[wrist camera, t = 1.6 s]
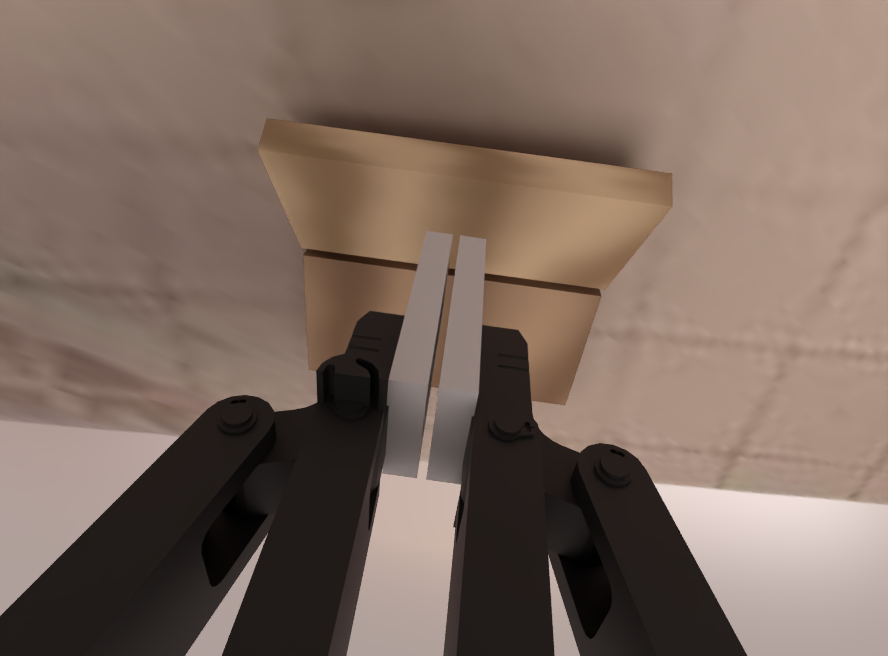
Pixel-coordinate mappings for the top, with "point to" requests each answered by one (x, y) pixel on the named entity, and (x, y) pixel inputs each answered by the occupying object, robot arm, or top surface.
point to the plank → (462, 202)
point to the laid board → (504, 305)
